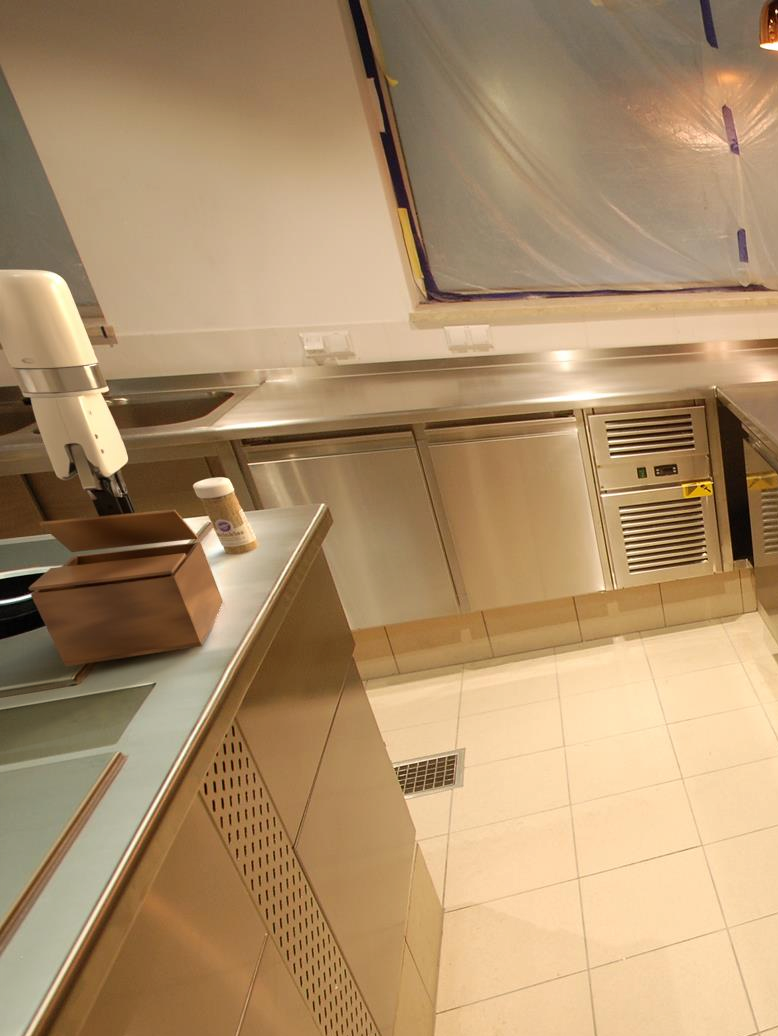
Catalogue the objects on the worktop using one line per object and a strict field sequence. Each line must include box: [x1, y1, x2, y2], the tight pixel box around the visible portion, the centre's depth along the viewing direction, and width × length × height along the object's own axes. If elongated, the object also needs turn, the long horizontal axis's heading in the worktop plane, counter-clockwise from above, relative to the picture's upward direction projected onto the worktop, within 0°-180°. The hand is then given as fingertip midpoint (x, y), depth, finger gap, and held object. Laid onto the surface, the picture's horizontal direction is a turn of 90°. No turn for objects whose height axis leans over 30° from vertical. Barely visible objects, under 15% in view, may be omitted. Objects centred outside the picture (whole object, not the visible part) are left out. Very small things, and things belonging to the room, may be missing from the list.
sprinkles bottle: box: [192, 476, 260, 555], centre depth 132 cm, size 5×5×14 cm
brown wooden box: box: [28, 541, 224, 667], centre depth 108 cm, size 13×15×10 cm
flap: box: [39, 509, 199, 553], centre depth 109 cm, size 13×7×1 cm
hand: (122, 526), depth 109 cm, fingers closed
